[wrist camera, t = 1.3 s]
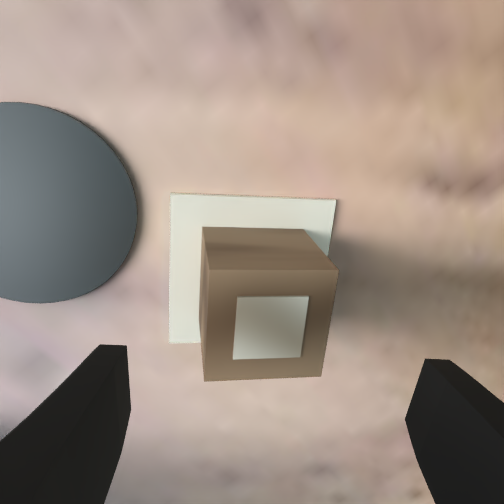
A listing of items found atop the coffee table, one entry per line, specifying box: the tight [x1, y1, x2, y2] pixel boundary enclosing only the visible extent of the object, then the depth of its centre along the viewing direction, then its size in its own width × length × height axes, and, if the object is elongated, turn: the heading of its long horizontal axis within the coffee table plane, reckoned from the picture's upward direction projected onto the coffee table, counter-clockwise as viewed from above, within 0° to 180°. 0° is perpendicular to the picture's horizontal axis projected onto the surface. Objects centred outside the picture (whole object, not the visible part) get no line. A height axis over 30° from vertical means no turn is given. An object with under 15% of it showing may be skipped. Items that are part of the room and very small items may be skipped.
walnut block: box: [199, 227, 339, 381], centre depth 19 cm, size 5×5×5 cm
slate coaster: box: [0, 102, 137, 303], centre depth 18 cm, size 9×9×1 cm
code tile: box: [169, 193, 336, 343], centre depth 21 cm, size 8×8×1 cm
